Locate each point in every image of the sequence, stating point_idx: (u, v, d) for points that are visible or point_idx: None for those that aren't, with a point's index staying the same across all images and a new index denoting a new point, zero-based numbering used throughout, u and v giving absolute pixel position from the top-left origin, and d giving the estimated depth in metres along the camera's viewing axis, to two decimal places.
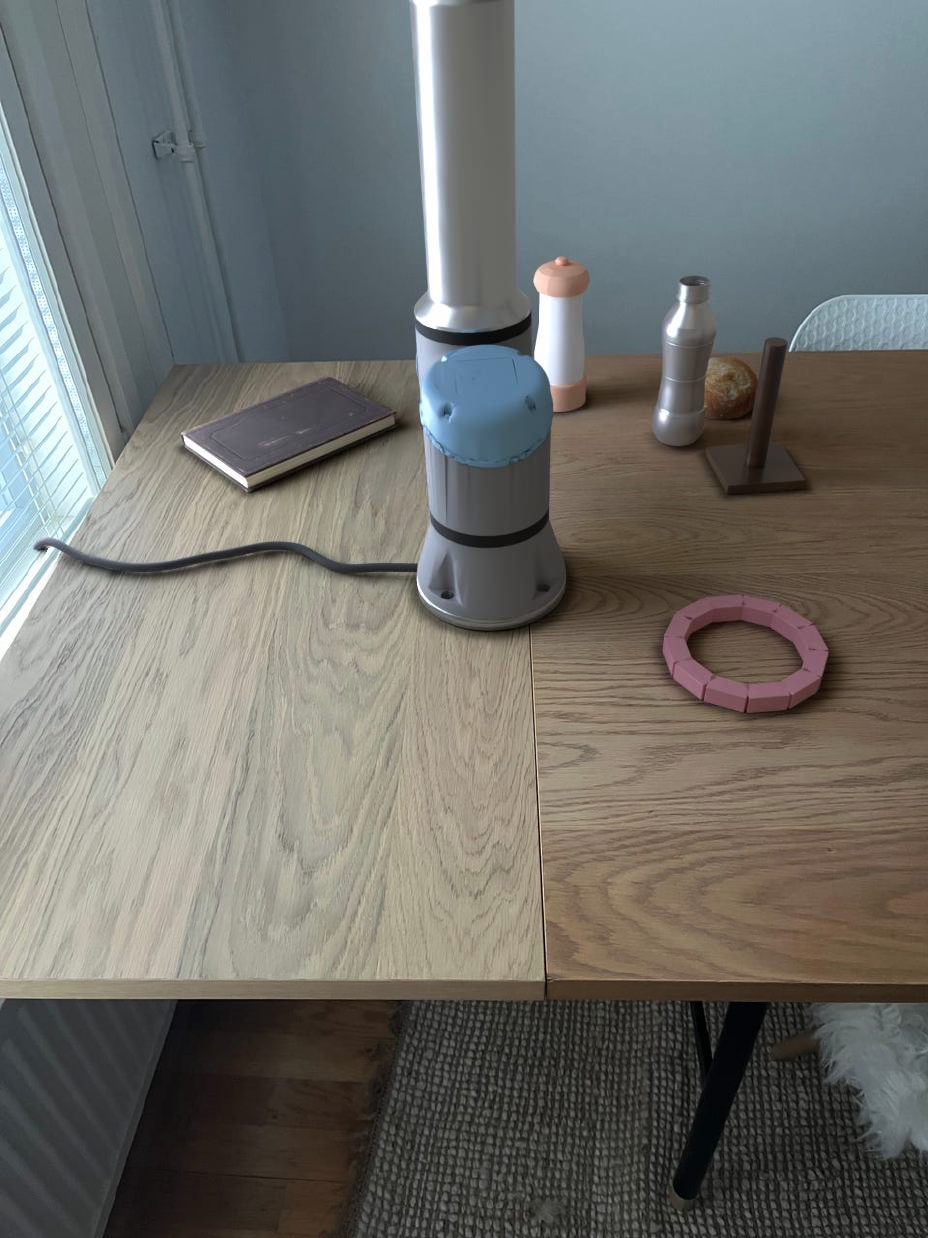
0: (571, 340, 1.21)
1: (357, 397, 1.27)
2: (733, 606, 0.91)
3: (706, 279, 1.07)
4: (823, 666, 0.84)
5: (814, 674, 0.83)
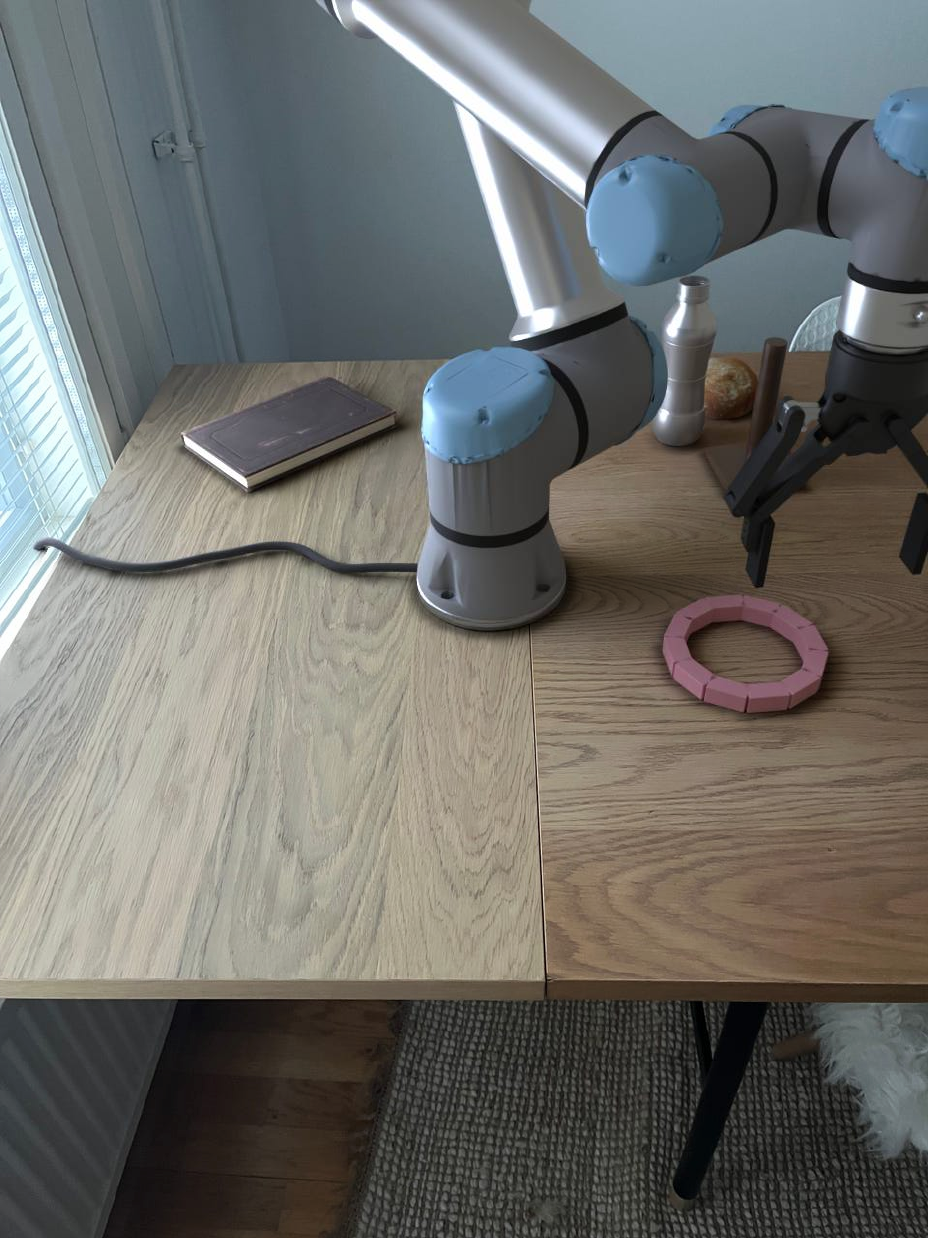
0: None
1: (357, 397, 1.27)
2: (733, 606, 0.91)
3: (706, 279, 1.07)
4: (823, 666, 0.84)
5: (814, 674, 0.83)
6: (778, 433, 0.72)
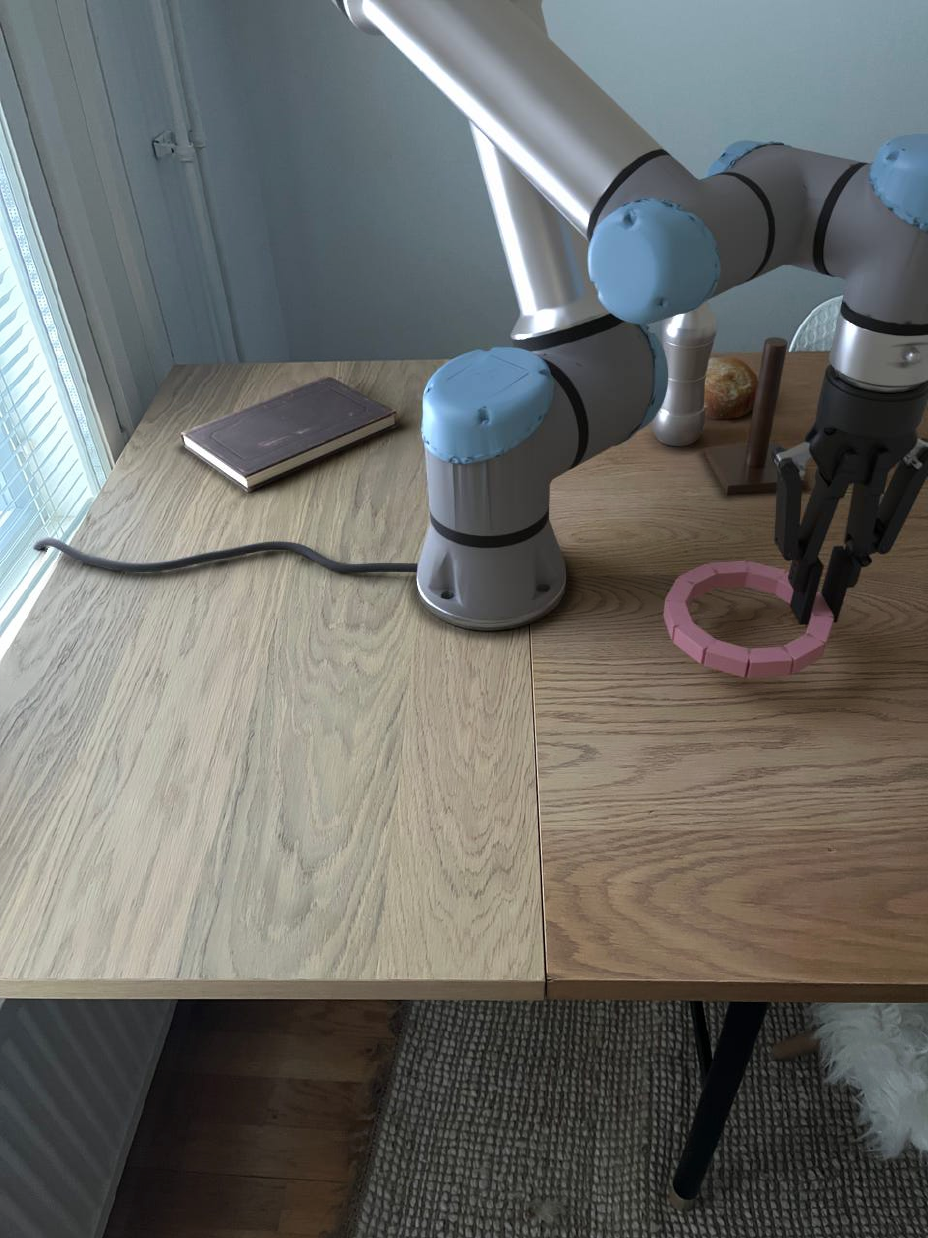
0: None
1: (357, 397, 1.27)
2: (737, 571, 0.88)
3: None
4: (828, 632, 0.81)
5: (818, 639, 0.81)
6: (783, 483, 0.76)
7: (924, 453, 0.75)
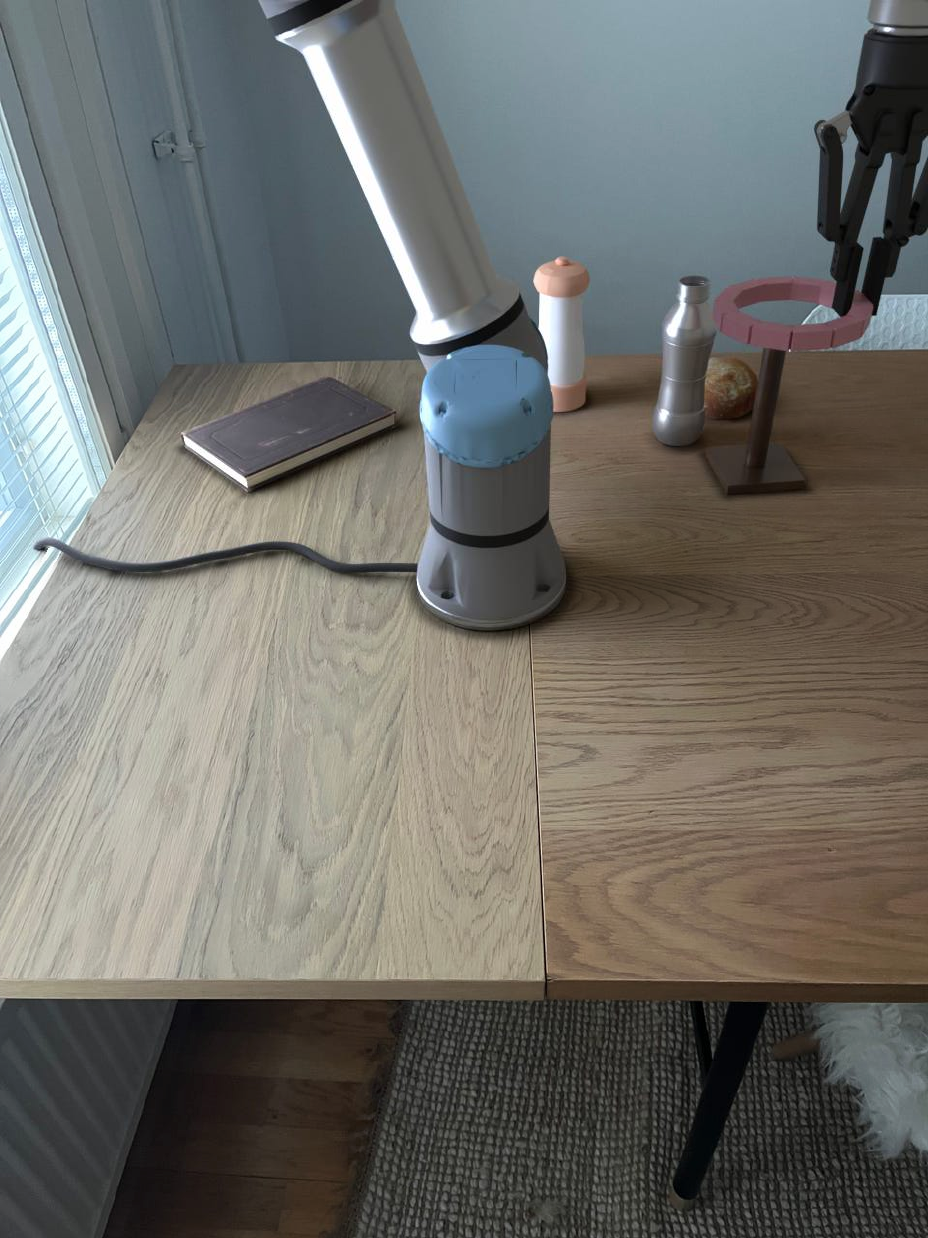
0: (571, 340, 1.21)
1: (357, 397, 1.27)
2: (782, 282, 0.95)
3: (706, 279, 1.07)
4: (867, 313, 0.87)
5: (857, 318, 0.87)
6: (825, 155, 0.82)
7: None
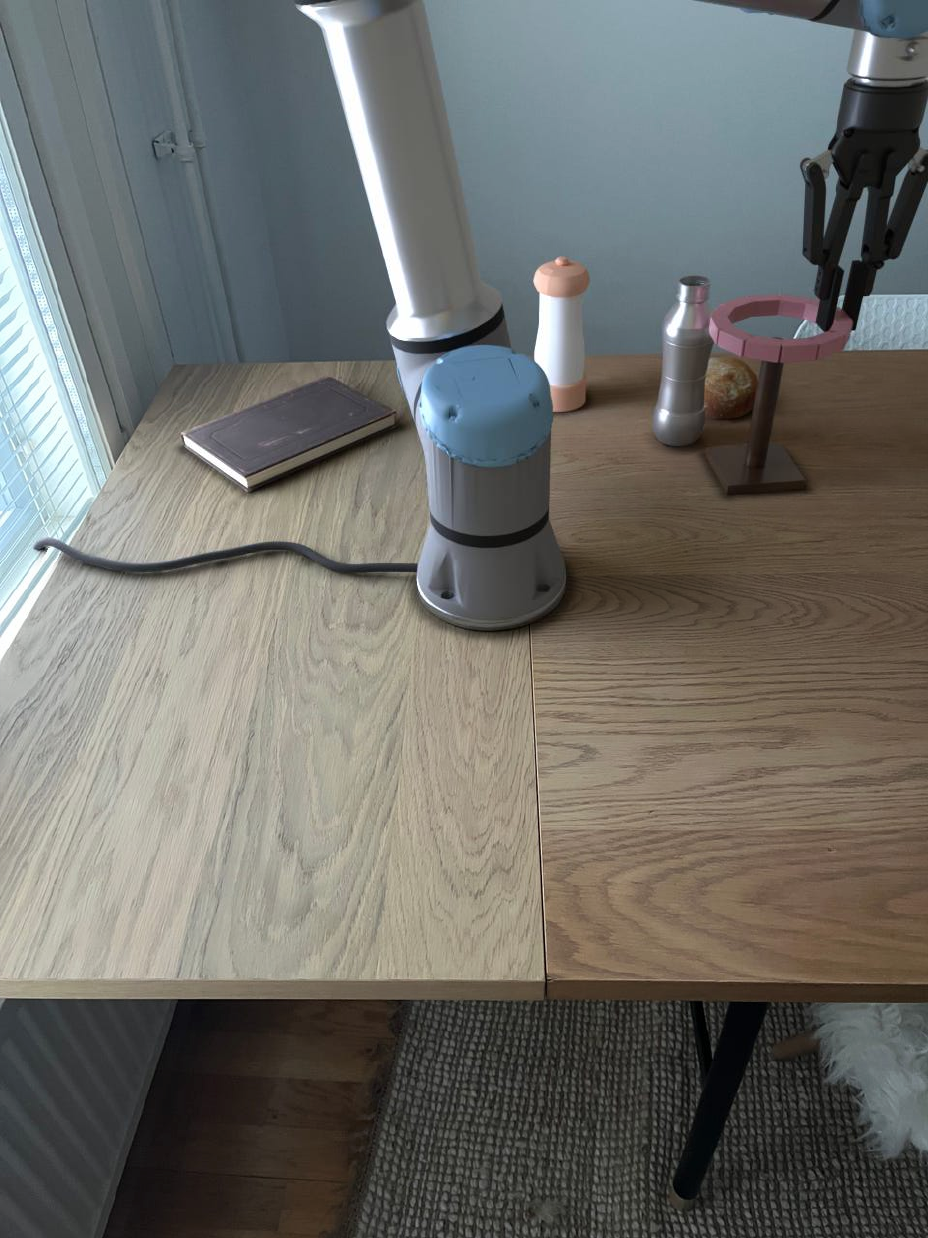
0: (571, 340, 1.21)
1: (357, 397, 1.27)
2: (771, 299, 1.05)
3: (706, 279, 1.07)
4: (847, 329, 0.98)
5: (839, 333, 0.97)
6: (810, 189, 0.92)
7: (925, 159, 0.91)
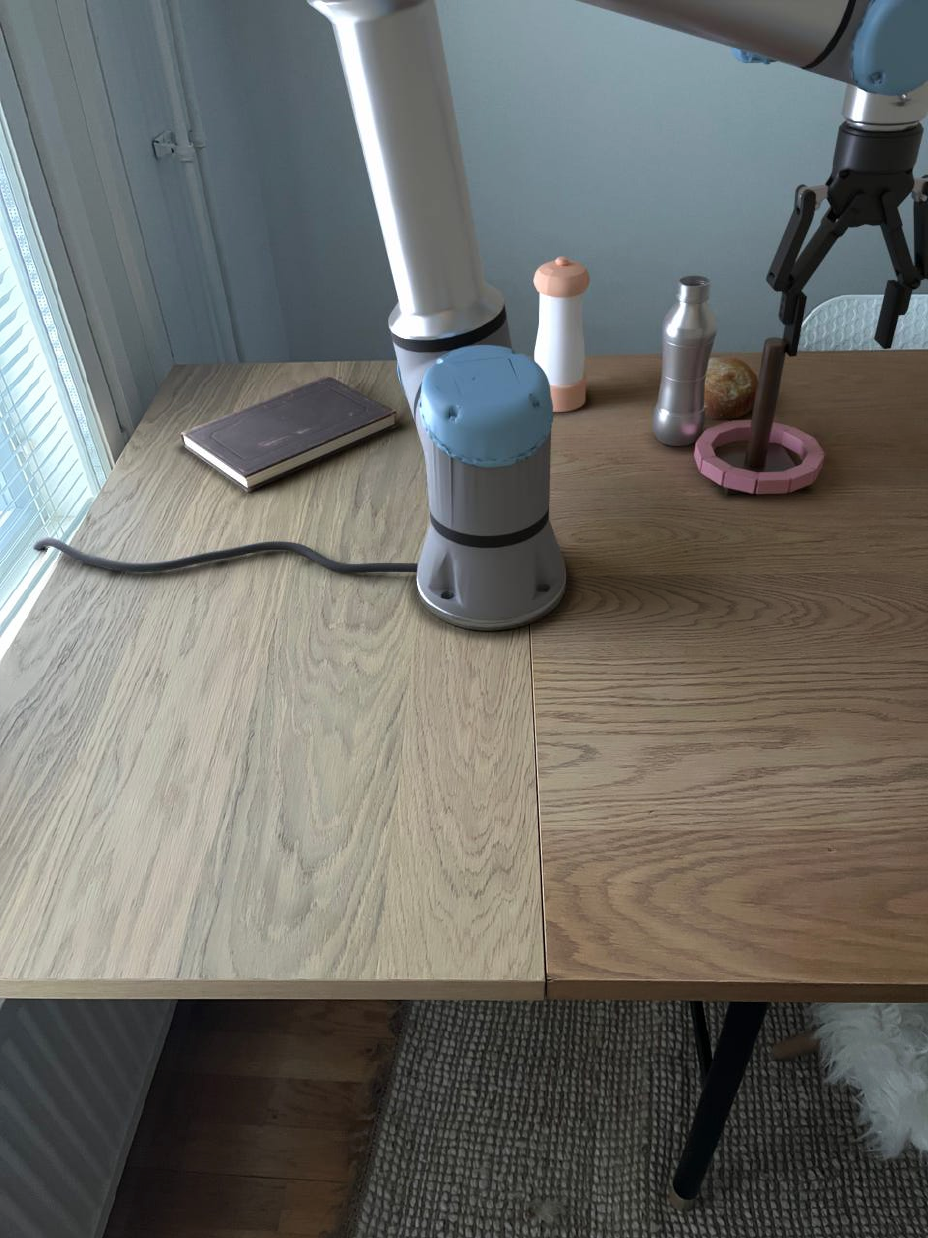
0: (571, 340, 1.21)
1: (357, 397, 1.27)
2: None
3: (706, 279, 1.07)
4: (818, 463, 1.08)
5: (810, 468, 1.07)
6: (798, 215, 0.94)
7: (926, 187, 0.93)
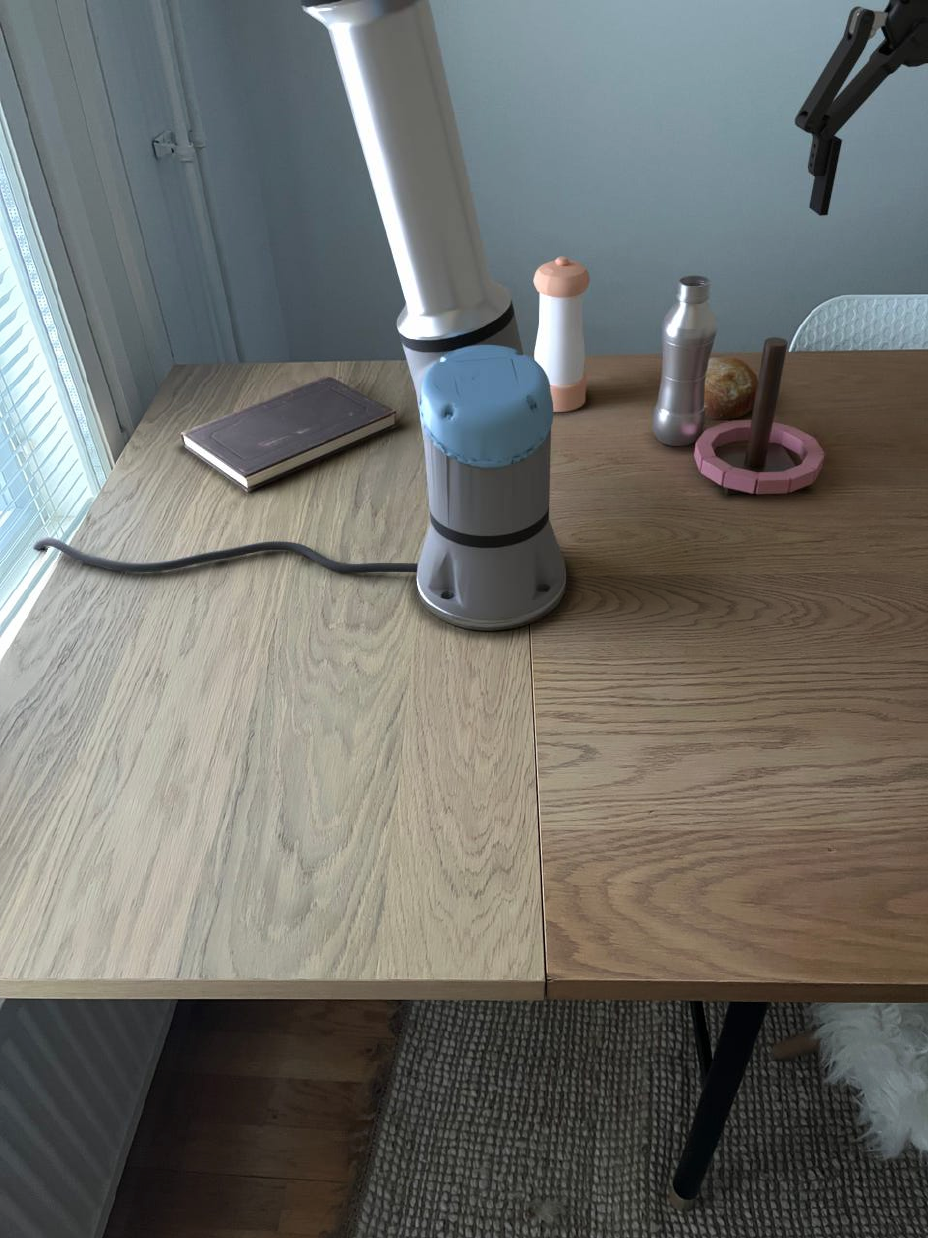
0: (571, 340, 1.21)
1: (357, 397, 1.27)
2: None
3: (706, 279, 1.07)
4: (818, 463, 1.08)
5: (810, 468, 1.07)
6: (848, 41, 0.81)
7: None
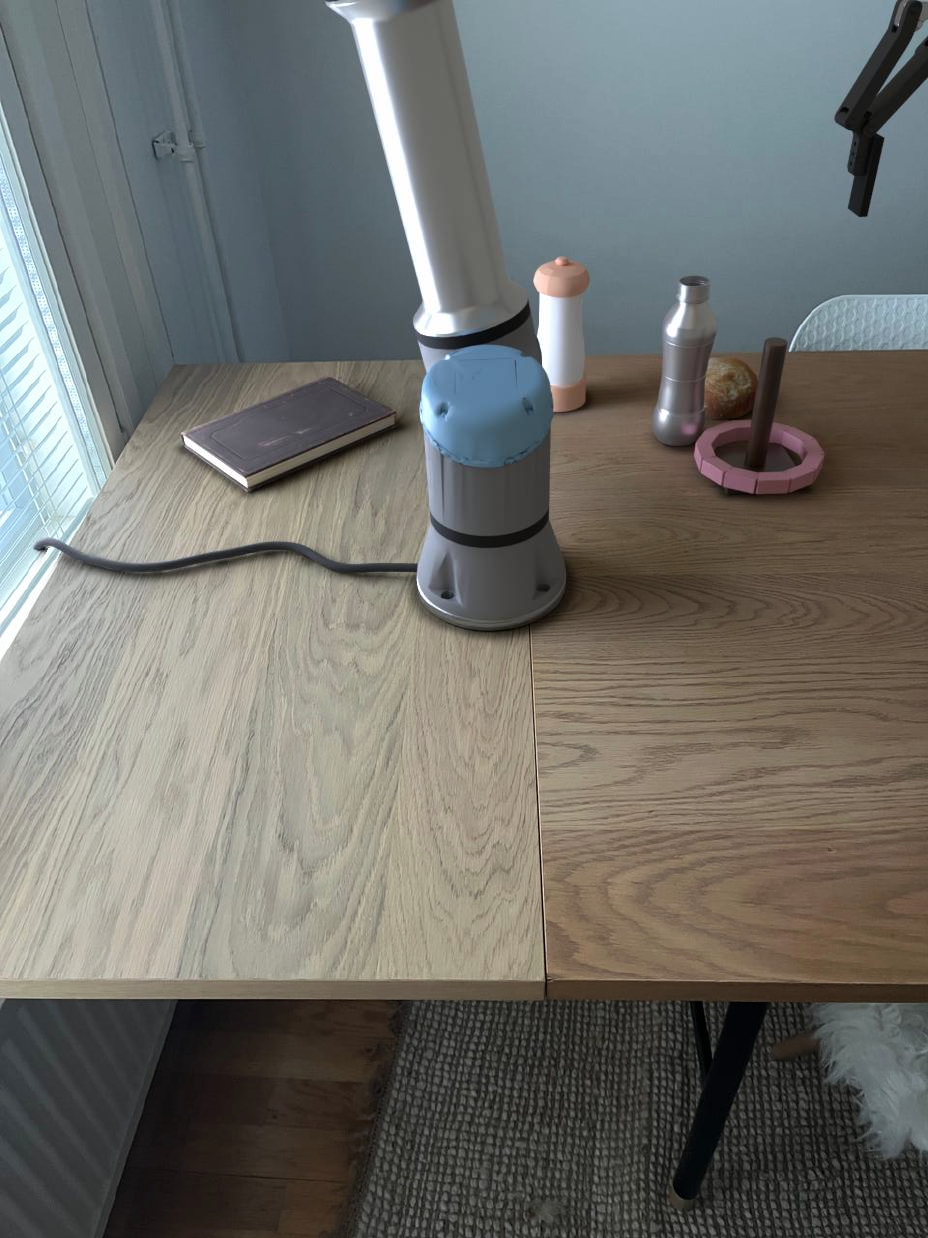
0: (571, 340, 1.21)
1: (357, 397, 1.27)
2: None
3: (706, 279, 1.07)
4: (818, 463, 1.08)
5: (810, 468, 1.07)
6: (893, 33, 0.77)
7: None
